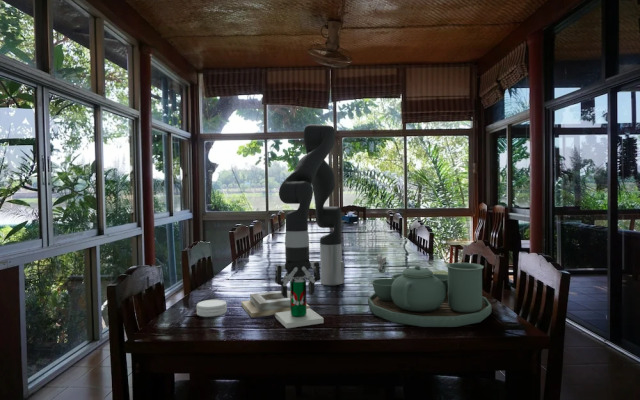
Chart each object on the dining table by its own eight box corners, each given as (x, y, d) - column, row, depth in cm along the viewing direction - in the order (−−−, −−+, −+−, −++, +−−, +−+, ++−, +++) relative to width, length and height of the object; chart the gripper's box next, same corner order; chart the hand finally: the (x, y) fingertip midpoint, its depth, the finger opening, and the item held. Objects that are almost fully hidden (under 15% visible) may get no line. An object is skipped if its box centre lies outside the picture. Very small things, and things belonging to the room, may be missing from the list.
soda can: (306, 312, 141) (305, 275, 141) (307, 317, 136) (306, 278, 136) (290, 313, 141) (289, 276, 141) (290, 317, 136) (290, 279, 136)
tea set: (478, 296, 164) (478, 252, 164) (502, 332, 125) (501, 274, 124) (372, 293, 172) (371, 251, 171) (362, 326, 132) (361, 272, 132)
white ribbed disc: (193, 311, 151) (193, 301, 151) (221, 307, 156) (221, 297, 156) (201, 319, 142) (200, 308, 142) (230, 314, 147) (230, 303, 147)
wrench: (386, 267, 240) (380, 271, 211) (382, 267, 240) (376, 271, 211) (386, 252, 241) (380, 254, 211) (382, 252, 241) (376, 254, 212)
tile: (309, 312, 146) (309, 308, 146) (323, 322, 135) (323, 318, 135) (275, 317, 142) (275, 312, 142) (286, 328, 131) (286, 323, 131)
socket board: (294, 299, 164) (294, 288, 164) (309, 310, 150) (309, 298, 149) (241, 305, 157) (241, 294, 157) (251, 317, 142) (251, 305, 142)
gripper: (278, 248, 132) (280, 301, 132) (322, 244, 137) (323, 296, 138) (272, 245, 139) (273, 295, 139) (313, 242, 144) (314, 290, 145)
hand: (298, 295), depth 138 cm, fingers open, 8 cm apart
